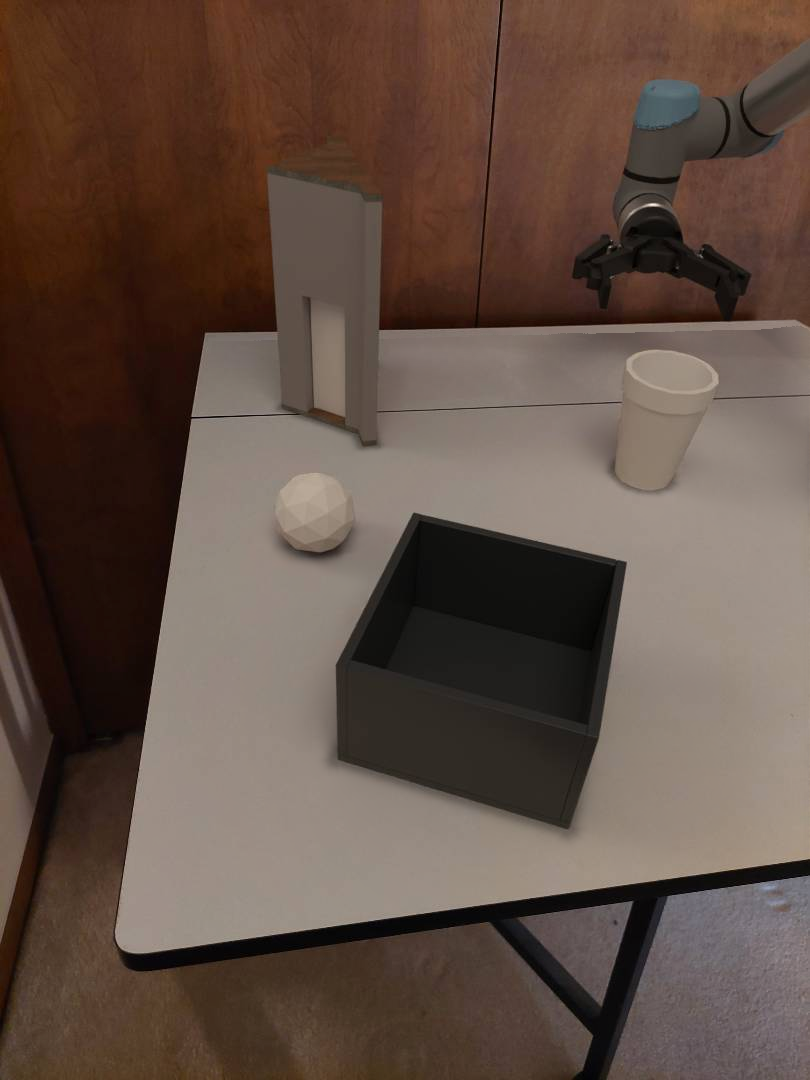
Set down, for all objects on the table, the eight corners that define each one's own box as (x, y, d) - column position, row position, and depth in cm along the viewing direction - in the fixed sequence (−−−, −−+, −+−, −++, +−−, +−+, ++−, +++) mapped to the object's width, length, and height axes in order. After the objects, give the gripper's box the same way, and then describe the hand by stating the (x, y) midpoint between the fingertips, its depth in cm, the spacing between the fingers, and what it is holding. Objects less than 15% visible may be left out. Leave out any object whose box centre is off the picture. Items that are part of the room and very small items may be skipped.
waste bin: (599, 653, 70) (627, 561, 63) (568, 829, 57) (599, 738, 50) (407, 604, 73) (413, 512, 66) (337, 759, 60) (335, 665, 53)
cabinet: (376, 444, 93) (382, 194, 75) (293, 453, 91) (279, 197, 73) (342, 360, 108) (341, 135, 90) (271, 365, 106) (255, 137, 88)
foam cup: (632, 506, 86) (663, 400, 78) (584, 460, 93) (607, 358, 84) (702, 487, 89) (738, 384, 81) (651, 444, 96) (679, 344, 87)
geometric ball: (331, 552, 83) (377, 494, 80) (312, 581, 75) (362, 518, 72) (272, 507, 82) (316, 447, 79) (247, 531, 74) (295, 466, 72)
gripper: (738, 272, 106) (772, 346, 90) (548, 254, 107) (548, 323, 91) (756, 214, 101) (796, 281, 85) (558, 196, 102) (559, 259, 86)
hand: (667, 303), depth 88 cm, fingers open, 13 cm apart
